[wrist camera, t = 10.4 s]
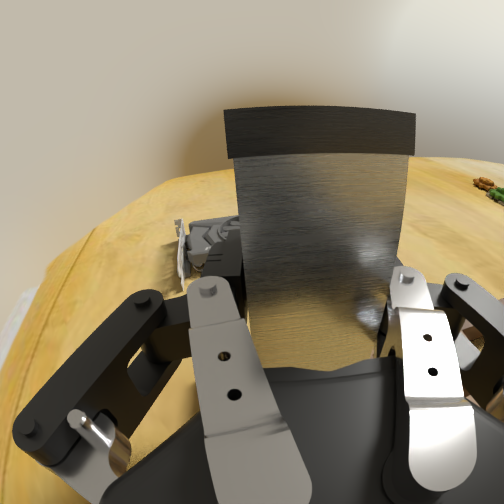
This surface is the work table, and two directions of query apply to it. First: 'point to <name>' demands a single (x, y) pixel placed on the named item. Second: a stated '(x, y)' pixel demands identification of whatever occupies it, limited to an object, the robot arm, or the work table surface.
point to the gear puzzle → (491, 189)
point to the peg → (318, 226)
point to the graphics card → (200, 241)
